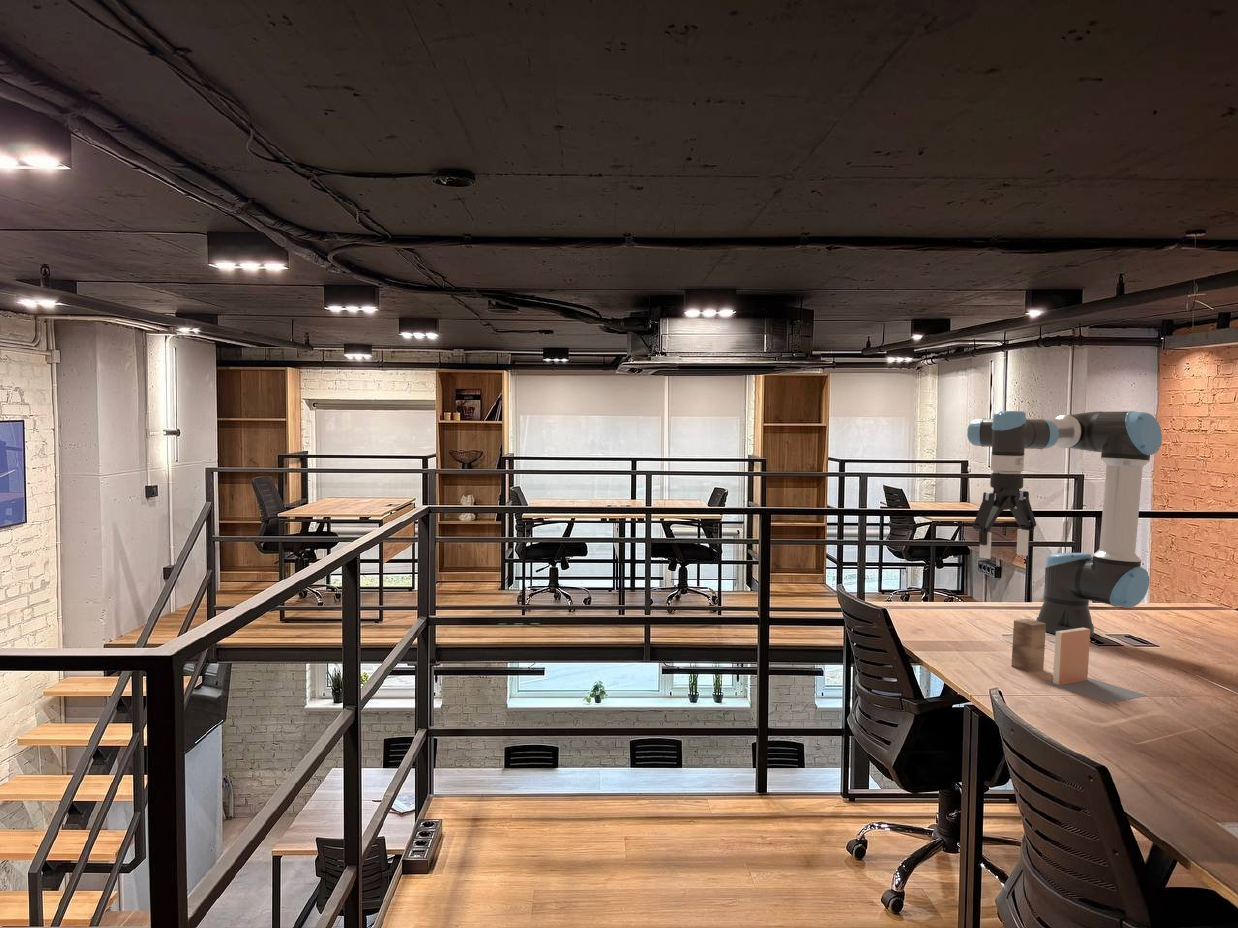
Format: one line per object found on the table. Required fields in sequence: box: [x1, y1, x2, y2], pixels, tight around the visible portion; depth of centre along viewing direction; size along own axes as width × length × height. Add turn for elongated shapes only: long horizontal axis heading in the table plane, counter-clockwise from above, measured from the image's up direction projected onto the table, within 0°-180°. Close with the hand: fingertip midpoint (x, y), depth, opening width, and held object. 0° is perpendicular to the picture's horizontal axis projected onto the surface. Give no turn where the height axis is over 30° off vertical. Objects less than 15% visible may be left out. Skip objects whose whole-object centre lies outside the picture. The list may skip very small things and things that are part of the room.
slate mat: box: [1044, 677, 1148, 705], centre depth 185 cm, size 15×14×1 cm
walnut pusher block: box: [1011, 618, 1047, 673], centre depth 200 cm, size 5×5×12 cm
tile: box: [1052, 628, 1091, 685], centre depth 190 cm, size 2×10×12 cm, turn 117°
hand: (1003, 556), depth 207 cm, fingers open, 13 cm apart
